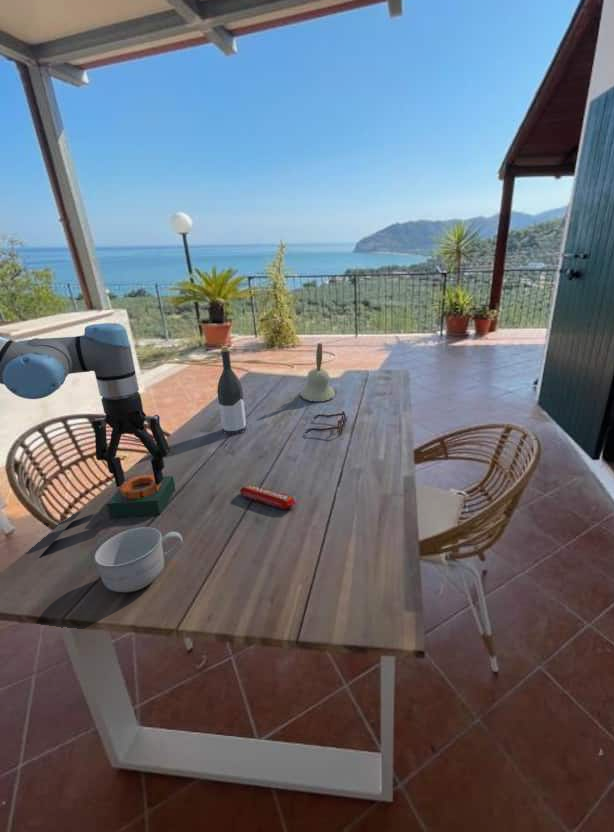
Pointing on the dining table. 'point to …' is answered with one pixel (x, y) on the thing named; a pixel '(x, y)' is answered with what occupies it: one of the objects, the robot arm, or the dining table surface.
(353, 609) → the dining table surface
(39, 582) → the dining table surface
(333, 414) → the glasses
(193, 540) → the dining table surface
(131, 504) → the block
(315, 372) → the handbell
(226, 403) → the wine bottle
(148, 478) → the ring
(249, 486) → the candy bar
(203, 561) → the dining table surface
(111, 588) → the teacup
